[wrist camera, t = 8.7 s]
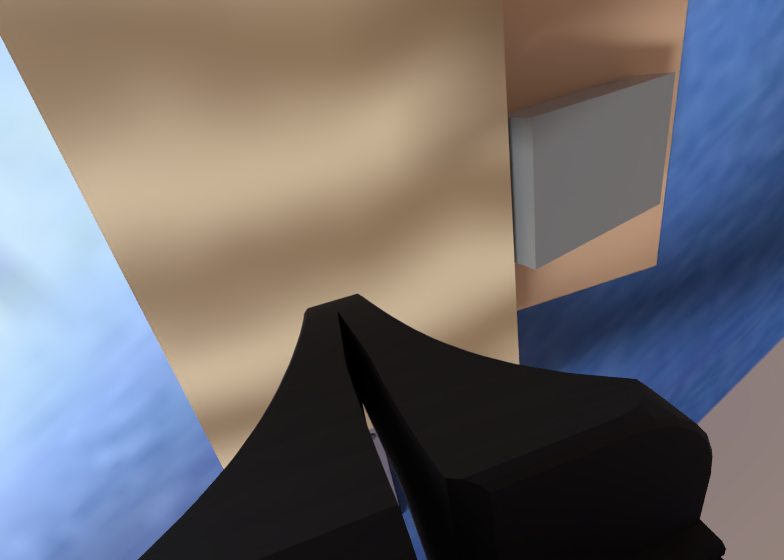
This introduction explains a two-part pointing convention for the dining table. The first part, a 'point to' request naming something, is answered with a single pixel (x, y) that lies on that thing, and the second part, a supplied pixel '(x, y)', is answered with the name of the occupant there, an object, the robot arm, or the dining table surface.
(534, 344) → the dining table surface
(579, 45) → the mat
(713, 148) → the dining table surface
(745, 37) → the dining table surface
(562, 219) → the thin grey panel
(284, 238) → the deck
